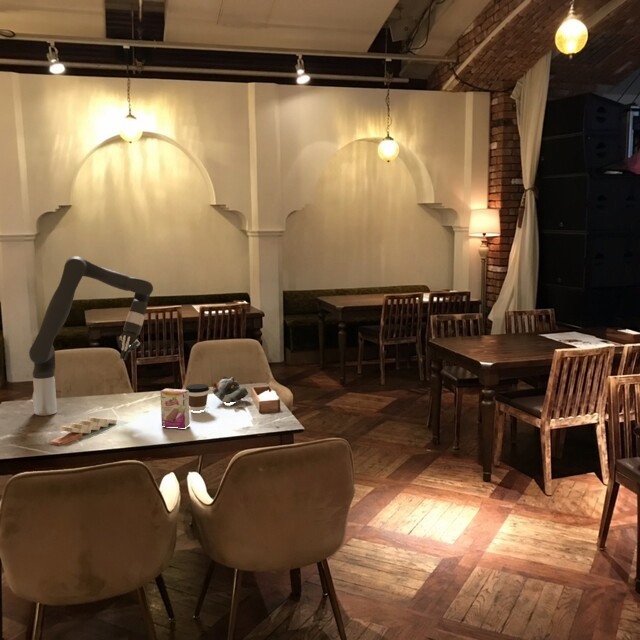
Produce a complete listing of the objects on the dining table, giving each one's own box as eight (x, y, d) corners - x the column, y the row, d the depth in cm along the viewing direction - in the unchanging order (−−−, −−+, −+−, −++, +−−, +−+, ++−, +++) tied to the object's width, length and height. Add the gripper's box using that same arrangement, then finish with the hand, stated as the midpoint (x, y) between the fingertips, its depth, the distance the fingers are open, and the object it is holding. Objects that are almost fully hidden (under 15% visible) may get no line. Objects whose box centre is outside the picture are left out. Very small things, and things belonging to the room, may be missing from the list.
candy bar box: (161, 428, 301) (159, 390, 298) (166, 424, 306) (165, 388, 303) (185, 430, 298) (183, 392, 295) (190, 426, 303) (189, 389, 300)
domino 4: (98, 425, 303) (78, 423, 293) (99, 421, 303) (79, 419, 293) (107, 427, 301) (87, 425, 290) (108, 423, 301) (88, 421, 291)
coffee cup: (207, 415, 320) (206, 389, 318) (183, 415, 320) (182, 389, 319) (211, 408, 331) (211, 383, 329) (188, 408, 331) (187, 383, 329)
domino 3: (90, 428, 299) (69, 426, 288) (91, 424, 299) (70, 422, 288) (99, 430, 297) (78, 428, 286) (99, 426, 297) (79, 424, 286)
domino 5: (107, 422, 308) (87, 420, 297) (107, 418, 308) (88, 416, 297) (116, 423, 305) (96, 422, 295) (116, 420, 306) (97, 418, 295)
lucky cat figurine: (229, 408, 331) (214, 382, 331) (218, 412, 341) (204, 387, 341) (253, 393, 340) (239, 368, 340) (242, 398, 350) (229, 373, 350)
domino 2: (81, 431, 294) (59, 430, 284) (82, 428, 295) (60, 426, 284) (90, 433, 292) (68, 431, 282) (91, 429, 292) (69, 427, 282)
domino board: (63, 436, 290) (63, 435, 290) (108, 420, 313) (108, 418, 313) (85, 440, 285) (85, 439, 285) (129, 423, 308) (129, 422, 308)
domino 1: (73, 434, 290) (50, 445, 280) (72, 431, 290) (50, 441, 280) (82, 436, 288) (59, 446, 278) (82, 432, 288) (59, 442, 277)
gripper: (117, 318, 322) (106, 354, 320) (140, 323, 317) (129, 360, 315) (127, 322, 329) (116, 357, 327) (150, 327, 324) (139, 363, 321)
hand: (122, 359), depth 321 cm, fingers closed
